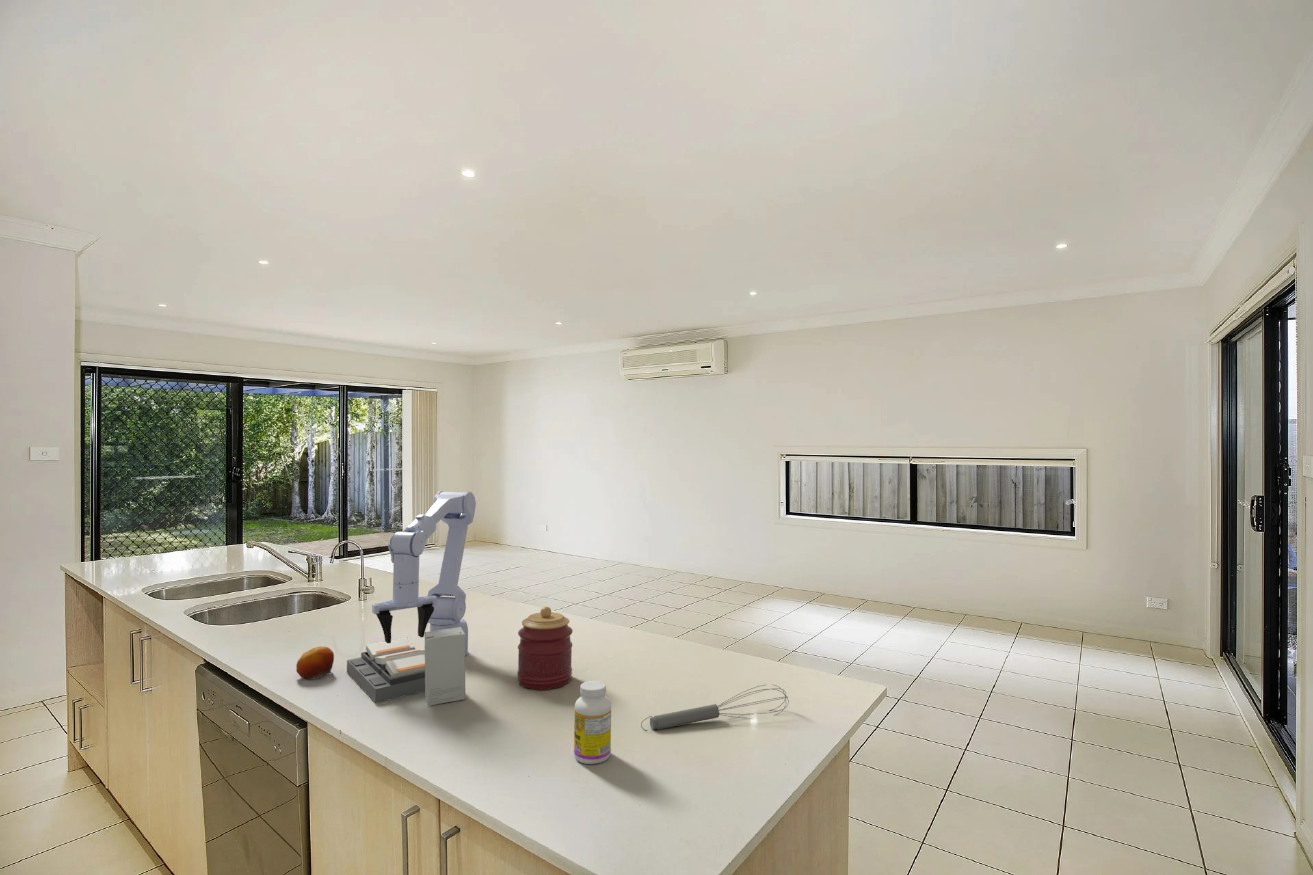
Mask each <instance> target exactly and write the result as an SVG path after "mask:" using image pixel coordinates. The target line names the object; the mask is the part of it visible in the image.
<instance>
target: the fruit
mask: <svg viewBox="0 0 1313 875" xmlns="http://www.w3.org/2000/svg"><path fill="white" fill-rule="evenodd" d="M334 660H335V654H334V651H333V650H332V649H331V648H329V647H328V646H320V645H319V646H317V647H313V648H311V649H308V650H306V651H305V652H303V653H302V655H301V656H300V657H299V659H297V662H296V665H295V666H296V667H295V668H296V674H298V675H299V676H300V677H301V678H302V679H303V680H304V679H305V680H313V679H319V680H320V679H321V677H322V676H323V675H327V674H331V675H334V673H333V672H332V669H333V665H334V662H335V661H334Z"/></svg>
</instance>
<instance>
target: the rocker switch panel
mask: <svg viewBox="0 0 1313 875" xmlns="http://www.w3.org/2000/svg"><path fill="white" fill-rule="evenodd" d="M415 649H416V647H414V650H415ZM346 673H347V674H348V675H349V676H350V678H352V680H353V681H354V682H355V683H356V684H357V685H358V686H359V687H360V689H362V691H363V692H365V693H366V695H367V696H368V697H369V698H370V699H371V700H372V701H373V702H374V703H375V704H377V703H381V702H385V701H389V700H394V699H397V698H403V697H406V696H410V695H415V694H420V693H425V672H421V673H417V674H412V675H407V676H403V677H398V678H394V679H392V677H391V675H390V674H389V672H388V671H387V669H386V664H383V665H382V664H377V663H375V659H373V660H372V659H371V658H370V656H369V654H368V653H367V651H363V652H361V654H360V657H356V658H350V659H347V660H346Z"/></svg>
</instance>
